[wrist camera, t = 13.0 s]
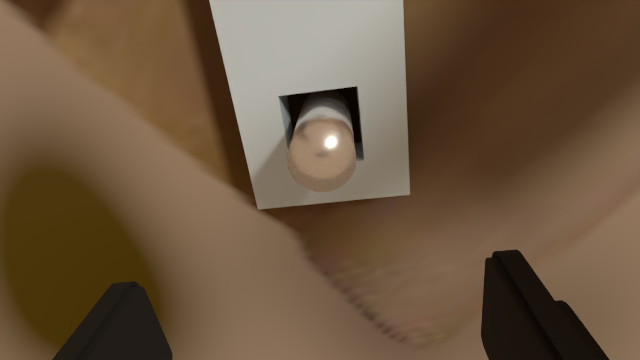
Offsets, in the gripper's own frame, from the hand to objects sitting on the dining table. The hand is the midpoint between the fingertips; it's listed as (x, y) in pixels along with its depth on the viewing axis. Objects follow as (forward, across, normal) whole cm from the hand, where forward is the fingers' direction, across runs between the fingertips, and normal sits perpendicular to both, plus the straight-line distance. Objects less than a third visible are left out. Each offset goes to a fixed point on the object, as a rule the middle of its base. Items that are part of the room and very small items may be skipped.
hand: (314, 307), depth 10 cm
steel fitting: (+22, 0, +1) cm, 22 cm away
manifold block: (+22, +1, -4) cm, 23 cm away
